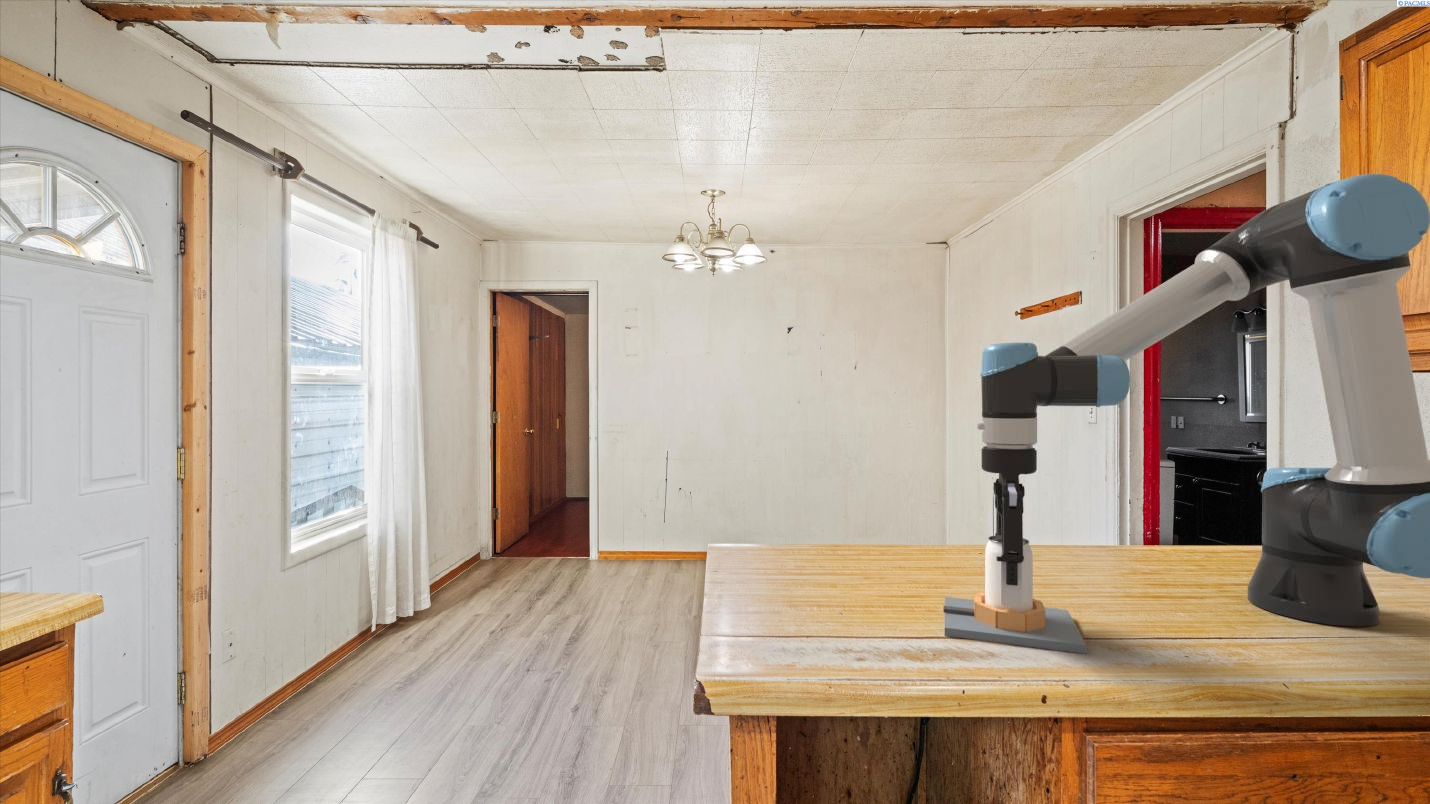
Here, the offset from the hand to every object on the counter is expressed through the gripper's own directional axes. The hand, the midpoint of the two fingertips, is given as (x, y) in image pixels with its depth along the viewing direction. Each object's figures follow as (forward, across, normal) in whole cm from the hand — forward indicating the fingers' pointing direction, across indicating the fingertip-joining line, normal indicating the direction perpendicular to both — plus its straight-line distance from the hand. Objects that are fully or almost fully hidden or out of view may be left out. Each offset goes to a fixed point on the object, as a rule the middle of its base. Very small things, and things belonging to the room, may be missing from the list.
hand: (1008, 596), depth 92 cm
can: (+4, 0, 0) cm, 4 cm away
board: (+5, 0, 0) cm, 5 cm away
